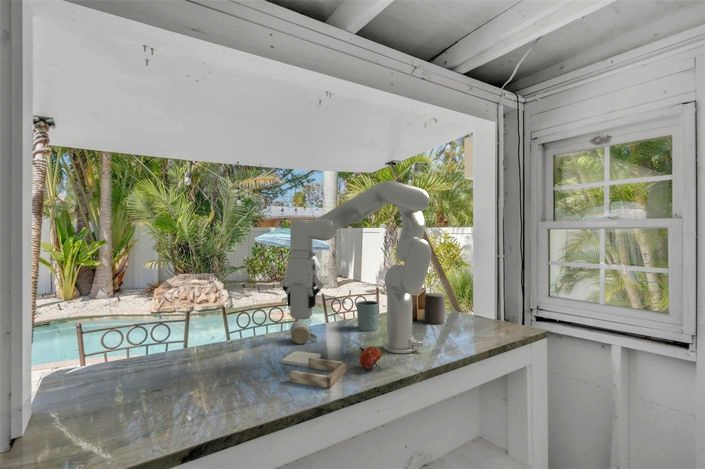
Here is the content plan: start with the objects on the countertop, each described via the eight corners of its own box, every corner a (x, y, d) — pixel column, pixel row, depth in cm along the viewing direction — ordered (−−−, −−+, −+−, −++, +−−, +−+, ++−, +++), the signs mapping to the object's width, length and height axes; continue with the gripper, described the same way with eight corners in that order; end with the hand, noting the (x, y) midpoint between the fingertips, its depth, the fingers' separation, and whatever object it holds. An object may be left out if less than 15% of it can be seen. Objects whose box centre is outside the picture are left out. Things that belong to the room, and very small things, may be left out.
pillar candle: (424, 324, 176) (425, 292, 176) (424, 319, 186) (424, 289, 186) (445, 325, 175) (446, 293, 174) (443, 320, 184) (444, 290, 184)
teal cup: (379, 332, 163) (379, 304, 163) (356, 331, 163) (356, 304, 163) (377, 326, 173) (377, 300, 173) (356, 325, 173) (356, 300, 173)
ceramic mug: (291, 345, 144) (292, 325, 144) (289, 339, 152) (290, 320, 151) (318, 344, 146) (319, 324, 146) (315, 338, 154) (315, 319, 154)
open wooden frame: (346, 371, 117) (346, 362, 117) (329, 388, 105) (329, 377, 105) (309, 366, 122) (309, 357, 122) (289, 381, 110) (289, 371, 110)
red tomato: (383, 372, 123) (362, 350, 127) (393, 358, 119) (372, 336, 124) (370, 382, 117) (349, 358, 121) (381, 367, 113) (359, 343, 118)
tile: (320, 356, 131) (320, 354, 131) (307, 366, 122) (307, 363, 122) (295, 353, 134) (295, 350, 134) (281, 362, 125) (281, 360, 125)
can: (291, 315, 131) (291, 281, 131) (312, 314, 132) (312, 281, 132) (289, 320, 124) (289, 284, 124) (311, 319, 124) (311, 284, 124)
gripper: (328, 255, 128) (328, 306, 128) (284, 253, 134) (284, 302, 134) (319, 256, 121) (319, 310, 121) (273, 255, 127) (273, 306, 127)
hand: (301, 306), depth 128 cm, fingers closed on can, 7 cm apart
